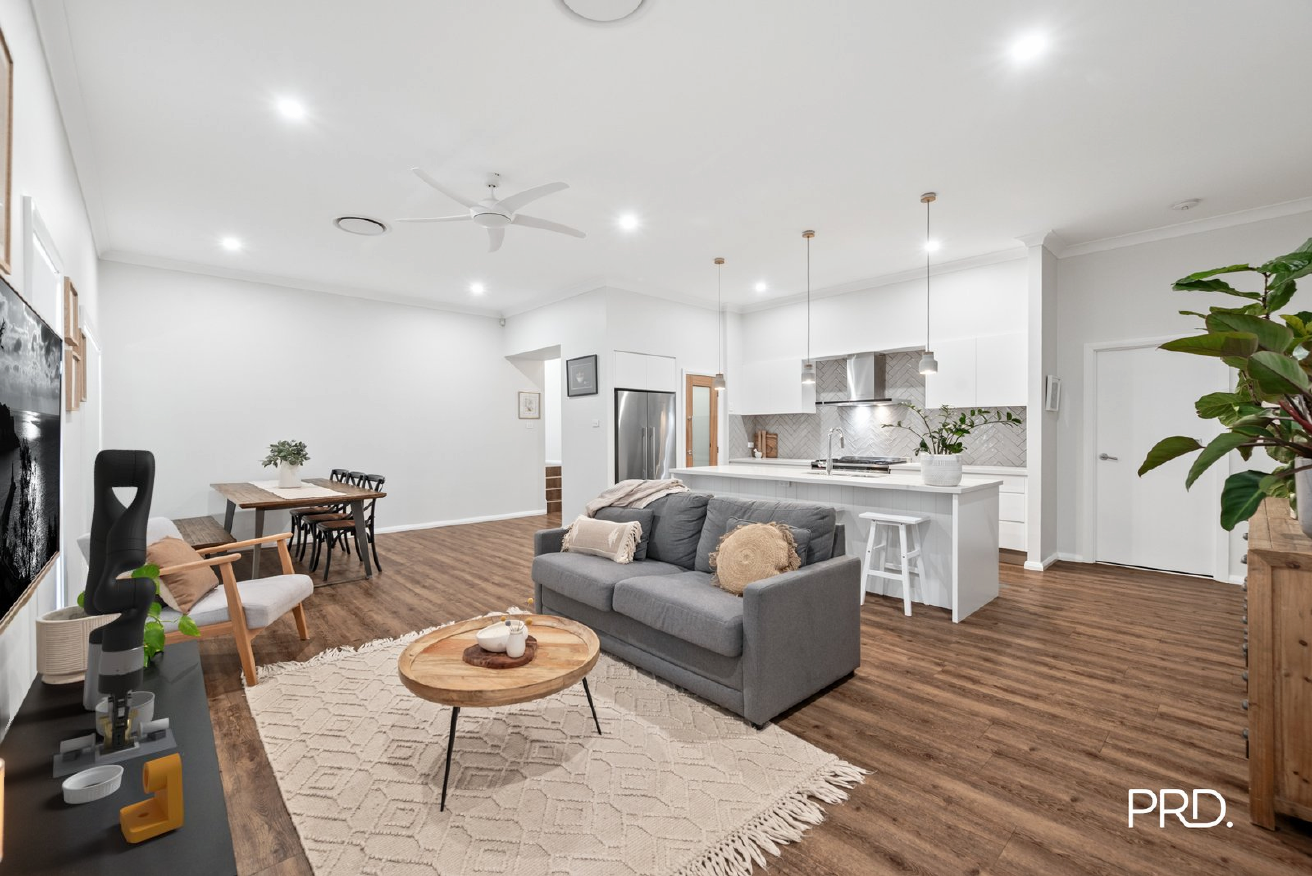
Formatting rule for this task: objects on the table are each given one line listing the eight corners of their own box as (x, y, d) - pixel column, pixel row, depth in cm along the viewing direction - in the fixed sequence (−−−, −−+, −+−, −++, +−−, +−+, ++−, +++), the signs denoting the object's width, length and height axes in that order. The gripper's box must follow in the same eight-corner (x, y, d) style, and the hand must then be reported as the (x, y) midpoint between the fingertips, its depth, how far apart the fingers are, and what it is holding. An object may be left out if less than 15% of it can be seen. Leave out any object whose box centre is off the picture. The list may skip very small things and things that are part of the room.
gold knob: (97, 753, 130) (99, 722, 130) (97, 746, 133) (98, 715, 133) (136, 744, 134) (138, 713, 134) (135, 737, 137) (136, 707, 137)
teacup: (162, 729, 147) (164, 696, 147) (107, 748, 137) (109, 713, 137) (132, 717, 153) (134, 685, 153) (77, 734, 143) (79, 701, 143)
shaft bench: (52, 784, 122) (54, 755, 122) (53, 761, 131) (55, 734, 131) (176, 752, 136) (178, 726, 136) (170, 733, 145) (171, 709, 145)
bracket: (118, 823, 110) (122, 758, 111) (167, 806, 116) (171, 744, 116) (131, 849, 104) (135, 779, 104) (182, 830, 109) (186, 764, 110)
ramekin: (68, 817, 112) (70, 794, 112) (54, 801, 116) (55, 779, 117) (129, 795, 119) (130, 773, 119) (113, 781, 124) (114, 760, 124)
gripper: (97, 662, 136) (93, 737, 136) (100, 680, 126) (95, 762, 126) (140, 655, 142) (136, 727, 141) (146, 672, 132) (141, 750, 131)
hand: (117, 743), depth 133 cm, fingers closed on gold knob, 4 cm apart
